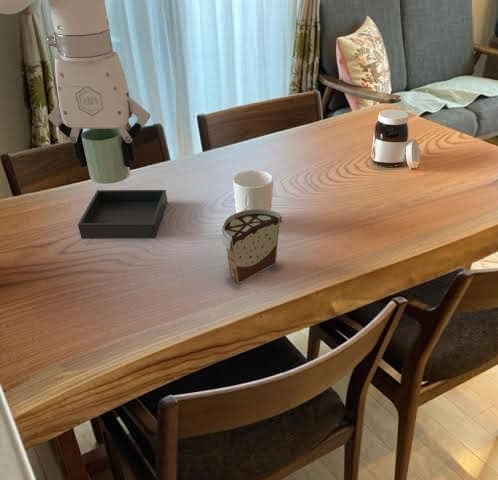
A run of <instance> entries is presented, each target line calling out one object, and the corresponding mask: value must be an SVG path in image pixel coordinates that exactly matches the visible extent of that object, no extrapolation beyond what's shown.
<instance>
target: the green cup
mask: <svg viewBox="0 0 498 480" xmlns="http://www.w3.org/2000/svg"><path fill="white" fill-rule="evenodd" d="M81 139H82V143H83V148H84V153H85V157H86V162H87V166H86V167H87V170H88V174H89V179H90V180H91V181H92V182H94V183H96V184H101V185H108V184H115V183H119V182H123V181H124V180H126V179H128V178H129V177H130V175H131V167H127V166H125V161H124V155H123V149H122V143H123V142H124V140H123V137H122V136H121V134H120V133H119V131H118V130H117V129H86V130H83V133H82V134H81Z"/></svg>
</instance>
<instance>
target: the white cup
mask: <svg viewBox="0 0 498 480" xmlns="http://www.w3.org/2000/svg"><path fill="white" fill-rule="evenodd" d="M232 186H233V187H232V188H233V196H234V205H235V206H234V207H235V214H236V213H238V212H241V211H246V210H253V209H263V210H270V211H272V206H273V193H274V191H273V190H274V176H273V175H272V174H271V173H269V172H267V171H265V170H259V169H257V170H256V169H251V170H244V171H240V172H238V173H236V174H235V175H234V176H233V177H232Z"/></svg>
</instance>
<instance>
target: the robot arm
mask: <svg viewBox="0 0 498 480" xmlns="http://www.w3.org/2000/svg"><path fill="white" fill-rule="evenodd" d="M38 1H39V0H0V14H1V15H14V14H18V13H20V12H22V11H24V10H25V9H27V7H29V6H31V4H34V3H36V2H38ZM47 3H48V7H49V12H50V16H51V21H52V25H53V29H54V32H53V34H51V35H48V36H47V37H46V41H47V45H48V46H49V47H54V48H56V49H57V53H58V54H57V55H56V56H54V72H55V73H54V75H55V85H56V93H57V99H58V103H57V104H56V106H54V108H53V109H52V111H51V112H50V113H49V114H48V115H47V119H48V120H49V121H50V122H51V124H53V125H54V126H55V127H56V128H57V129H58V130H59V131H60V132H61V133H62V134H64V135H65V136H66V137H67V138H68V139H69V141H70V142H71V143H72V144H73V146H74V151H75V155H76V159H77V161H79V163H80V168H86V167H88V166H87V162H86V157H85V153H84V148H83V143H82V139H81V134H82V133H83V132H84V130H85V129H86V130H88V129H117V130H118V131H119V133H120V134H121V136H122V137H123V140H124V142H123V143H122V149H123V155H124V161H125V166H127V167H130V168H131V167H132V166H133V163H134V162H135V161H136V159H137V152H136V144H135V138H136V137H137V136H138V134H139V133H140V132H141V130H142V129H143V128H144V126H145V125H146V124H147V123H148V121H149V120H150V117H151V114H150V113H149V112H148V111H147V110H146V109H145V108H143V107H142V106H141V105H140V104H139V103H137V102H136V101H135V100H134V99H133V98H131V95H130V90H129V86H128V82H127V78H126V74H125V71H124V66H123V64H122V61H121V58H120V56H119V53H118V52H117V51H115V50H114V47H113V41H112V37H111V30H110V25H109V24H110V23H109V18H108V13H107V6H106V0H47ZM133 115H134V116H135V117H136V118H137V120H136V122H135V123H134V124H133V125H132V124H131V123H130V122H129V121H130V118H132V117H133Z"/></svg>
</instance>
